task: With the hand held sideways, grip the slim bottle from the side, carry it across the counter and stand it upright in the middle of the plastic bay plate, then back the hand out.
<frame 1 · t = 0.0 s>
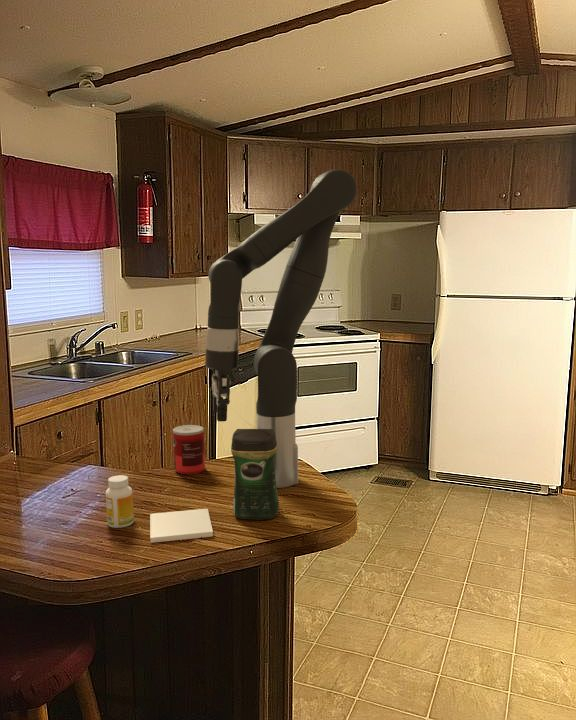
hand: (219, 416, 153), 17 cm above the countertop, tool pointing down, fingers open, 8 cm apart
coffee jar: (256, 514, 140), on the countertop
canned food: (190, 471, 169), on the countertop
supplement bottle: (120, 524, 136), on the countertop
bay plate: (180, 527, 134), on the countertop
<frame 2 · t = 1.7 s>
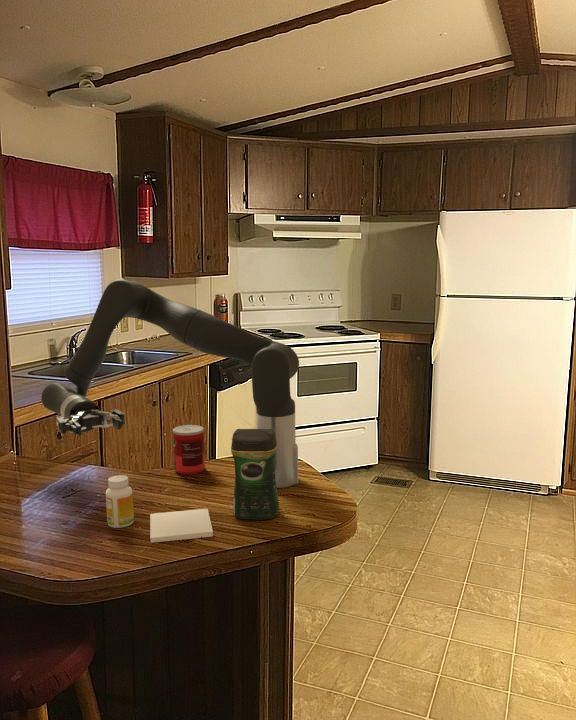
hand: (99, 428, 143), 18 cm above the countertop, tool horizontal, fingers open, 8 cm apart
nothing on the countertop moved.
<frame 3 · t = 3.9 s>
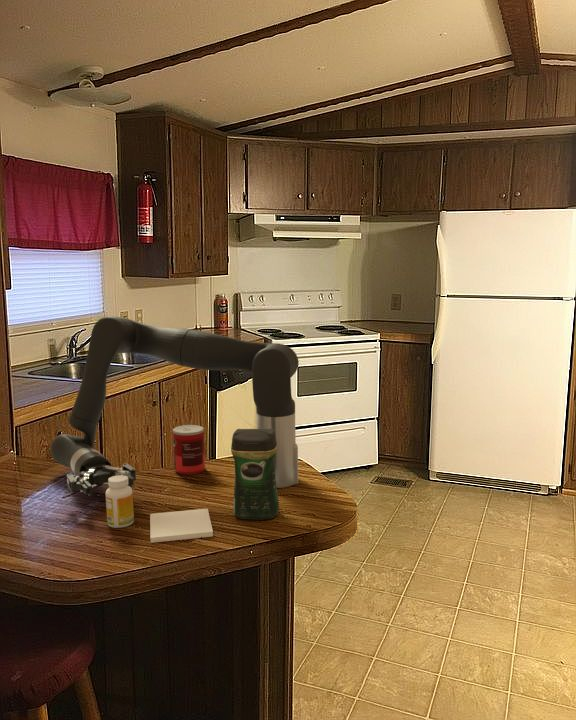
hand: (111, 487, 140), 6 cm above the countertop, tool horizontal, fingers open, 8 cm apart
nothing on the countertop moved.
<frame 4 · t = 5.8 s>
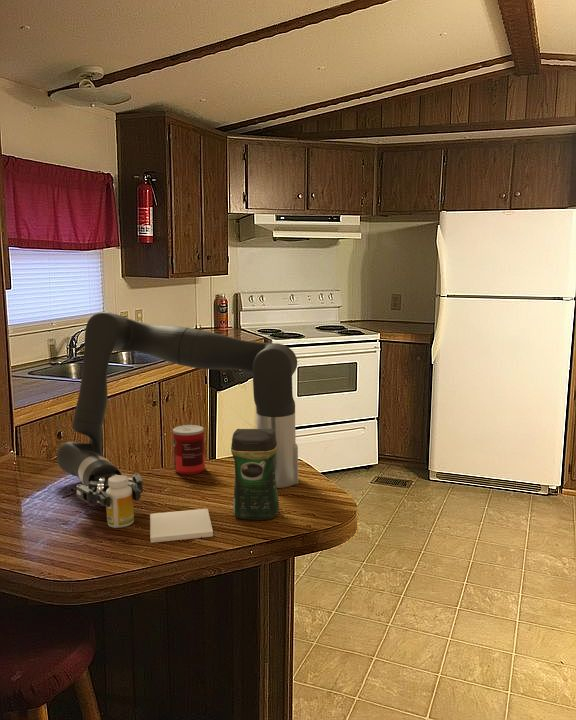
hand: (123, 499, 133), 6 cm above the countertop, tool horizontal, fingers closed on supplement bottle, 5 cm apart
supplement bottle: (120, 524, 136), on the countertop, touching gripper
everything else where it was.
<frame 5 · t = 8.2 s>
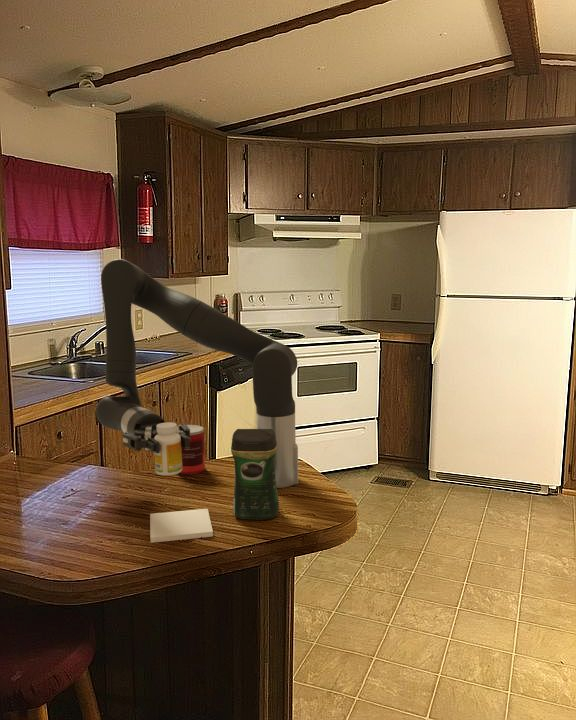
hand: (172, 445, 129), 18 cm above the countertop, tool horizontal, fingers closed on supplement bottle, 5 cm apart
supplement bottle: (169, 472, 132), point 11 cm above the countertop, touching gripper
everything else where it was.
when the fingers open (8 cm above the countertop, at t = 10.7 s): supplement bottle drops 1 cm, resting on bay plate.
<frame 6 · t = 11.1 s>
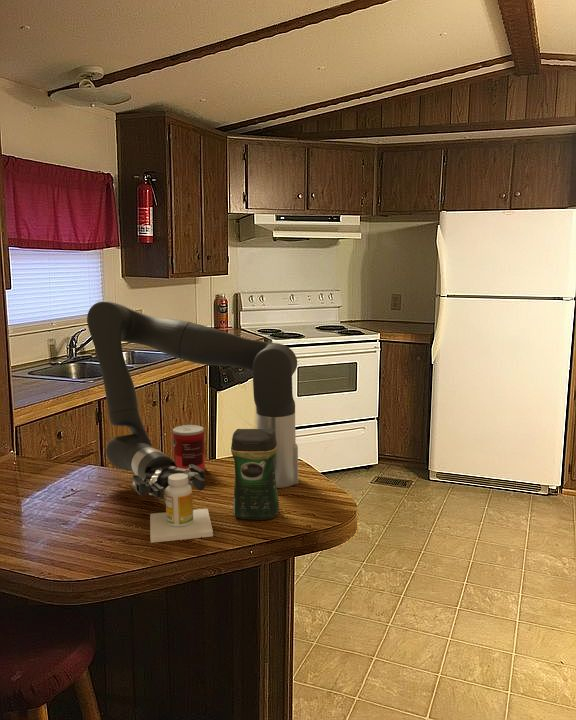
hand: (182, 489, 131), 8 cm above the countertop, tool horizontal, fingers open, 8 cm apart
supplement bottle: (180, 523, 134), point 1 cm above the countertop, touching bay plate
everything else where it was.
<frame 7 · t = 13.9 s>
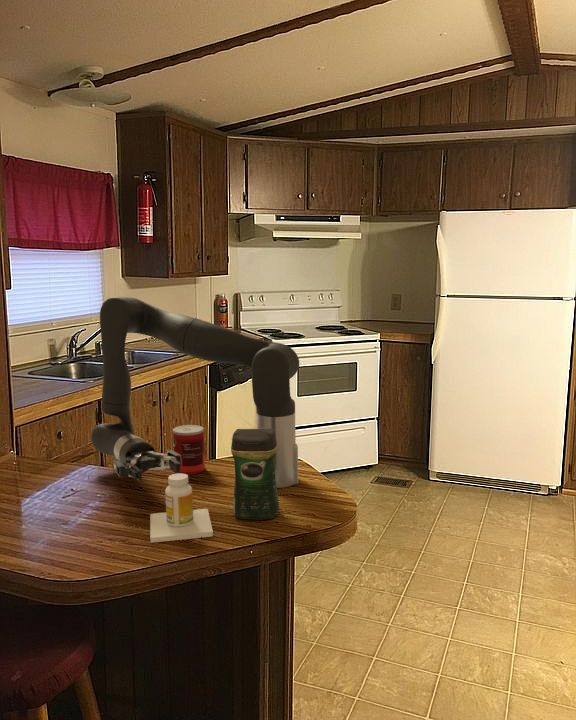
hand: (159, 472, 142), 8 cm above the countertop, tool horizontal, fingers open, 8 cm apart
nothing on the countertop moved.
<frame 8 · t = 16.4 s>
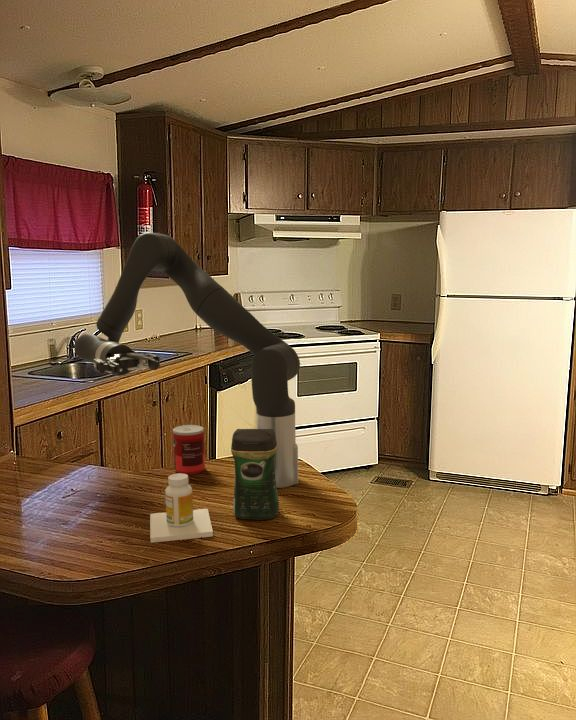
hand: (137, 367, 146), 30 cm above the countertop, tool horizontal, fingers open, 8 cm apart
nothing on the countertop moved.
at the end: supplement bottle inside the target area on the bay plate (0.1 cm from its centre), point 0.8 cm above the bay plate's base; supplement bottle tilted 0°; the gripper is holding nothing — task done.
